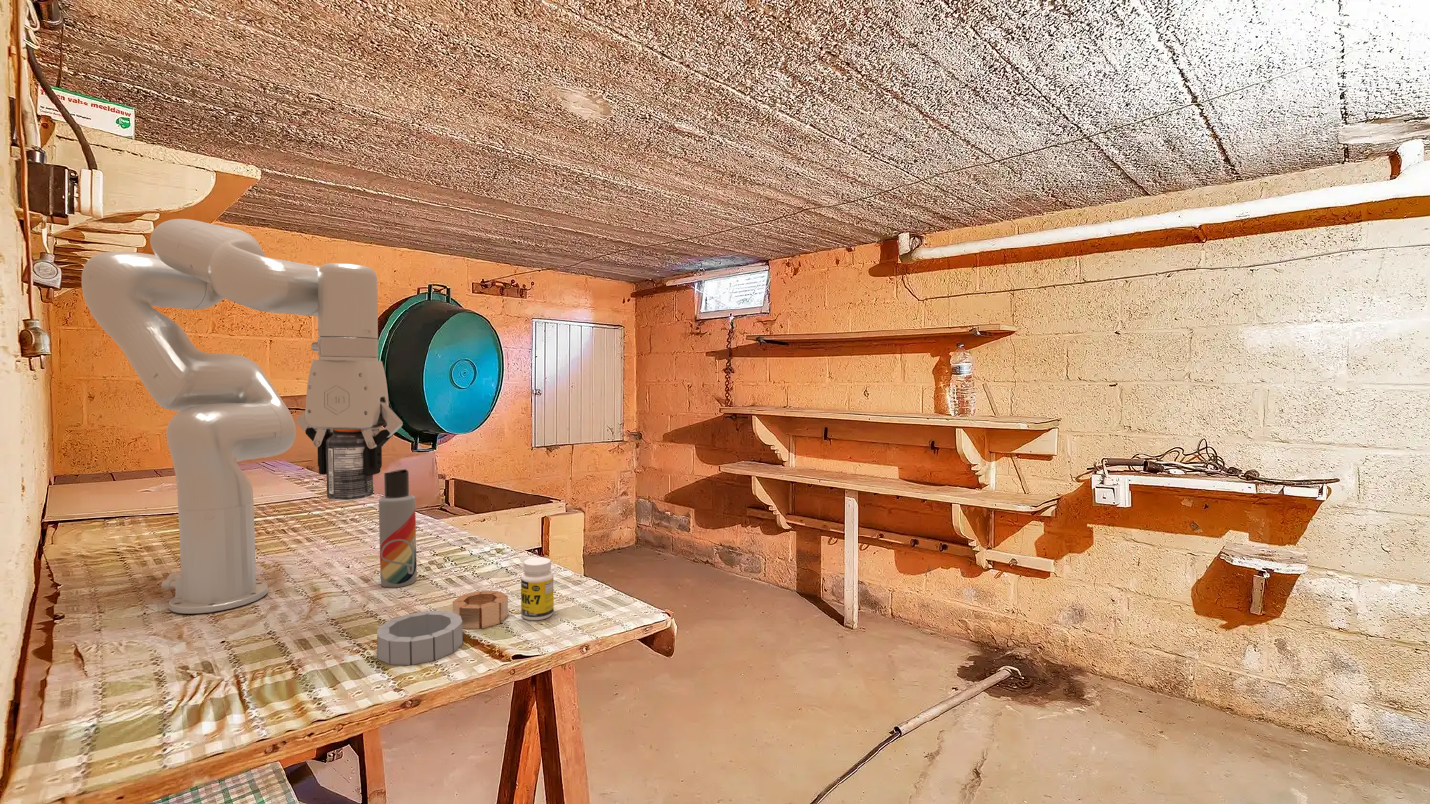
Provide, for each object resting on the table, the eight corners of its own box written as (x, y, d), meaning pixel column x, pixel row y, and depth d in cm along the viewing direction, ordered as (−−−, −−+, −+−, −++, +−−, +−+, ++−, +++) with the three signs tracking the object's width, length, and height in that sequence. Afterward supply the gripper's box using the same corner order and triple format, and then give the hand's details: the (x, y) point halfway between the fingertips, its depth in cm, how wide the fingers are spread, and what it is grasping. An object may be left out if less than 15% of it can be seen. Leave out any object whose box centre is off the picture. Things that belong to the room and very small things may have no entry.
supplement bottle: (514, 618, 96) (513, 563, 96) (533, 607, 101) (533, 555, 100) (541, 623, 94) (541, 567, 94) (559, 611, 99) (559, 558, 98)
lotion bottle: (402, 589, 109) (399, 472, 108) (373, 587, 110) (370, 471, 109) (423, 578, 114) (421, 467, 113) (395, 576, 115) (393, 466, 114)
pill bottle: (346, 492, 97) (345, 418, 97) (382, 494, 97) (381, 419, 96) (316, 500, 91) (315, 421, 91) (354, 502, 91) (353, 423, 90)
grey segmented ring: (360, 663, 81) (360, 640, 81) (404, 630, 92) (403, 610, 91) (439, 665, 81) (439, 642, 81) (474, 632, 91) (474, 611, 91)
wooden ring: (445, 628, 92) (445, 607, 92) (467, 609, 100) (467, 590, 100) (495, 629, 92) (494, 609, 92) (513, 610, 99) (513, 591, 99)
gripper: (272, 348, 89) (274, 476, 90) (392, 351, 89) (393, 480, 90) (309, 350, 97) (310, 468, 98) (419, 352, 96) (420, 471, 97)
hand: (350, 472), depth 94 cm, fingers closed on pill bottle, 6 cm apart
